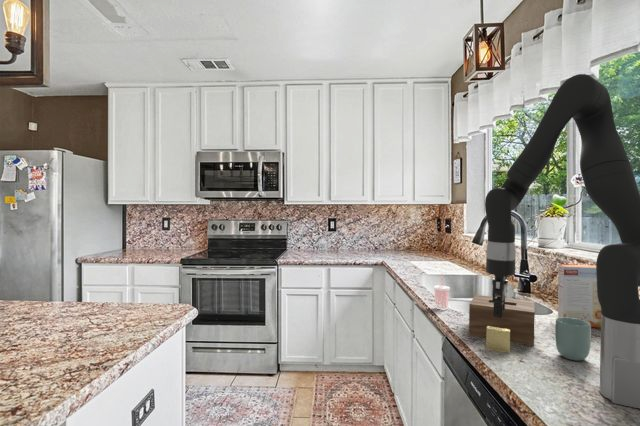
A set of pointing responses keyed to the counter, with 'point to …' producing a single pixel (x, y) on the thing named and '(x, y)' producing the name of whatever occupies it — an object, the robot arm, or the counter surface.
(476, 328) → the coin box
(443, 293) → the beverage cup
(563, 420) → the counter surface
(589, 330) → the cup
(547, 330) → the counter surface
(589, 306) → the cracker box
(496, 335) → the block
